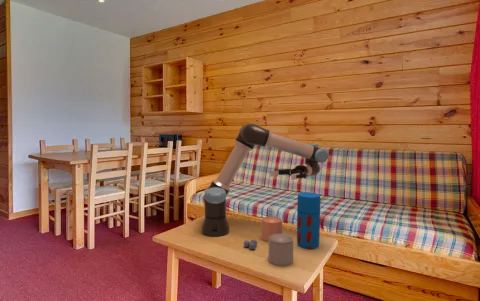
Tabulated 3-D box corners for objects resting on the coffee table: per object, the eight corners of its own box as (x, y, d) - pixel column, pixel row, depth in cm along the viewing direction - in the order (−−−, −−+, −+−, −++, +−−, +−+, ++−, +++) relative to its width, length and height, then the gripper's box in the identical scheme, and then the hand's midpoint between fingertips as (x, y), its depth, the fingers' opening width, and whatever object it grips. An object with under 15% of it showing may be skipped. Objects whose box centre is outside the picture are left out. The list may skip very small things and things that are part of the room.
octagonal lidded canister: (257, 238, 152) (258, 219, 151) (269, 233, 159) (270, 215, 158) (273, 243, 145) (273, 224, 144) (285, 238, 152) (285, 219, 151)
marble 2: (249, 246, 142) (249, 239, 142) (253, 244, 144) (253, 238, 144) (254, 248, 140) (254, 241, 139) (258, 246, 142) (258, 239, 142)
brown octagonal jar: (264, 260, 127) (264, 237, 126) (277, 253, 134) (278, 231, 134) (283, 268, 120) (283, 244, 119) (296, 260, 127) (297, 237, 127)
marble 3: (247, 249, 138) (247, 242, 138) (252, 247, 141) (252, 240, 141) (252, 251, 136) (252, 244, 136) (257, 249, 139) (257, 242, 138)
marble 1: (242, 247, 141) (242, 240, 141) (246, 245, 143) (246, 238, 143) (247, 249, 139) (247, 242, 138) (251, 246, 141) (251, 240, 141)
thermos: (320, 250, 138) (321, 198, 135) (296, 248, 139) (298, 197, 137) (317, 241, 148) (319, 192, 146) (296, 239, 150) (297, 191, 148)
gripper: (322, 180, 162) (301, 186, 147) (284, 174, 179) (262, 179, 164) (322, 166, 161) (301, 171, 146) (285, 162, 178) (263, 166, 163)
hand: (281, 175), depth 155 cm, fingers open, 13 cm apart
